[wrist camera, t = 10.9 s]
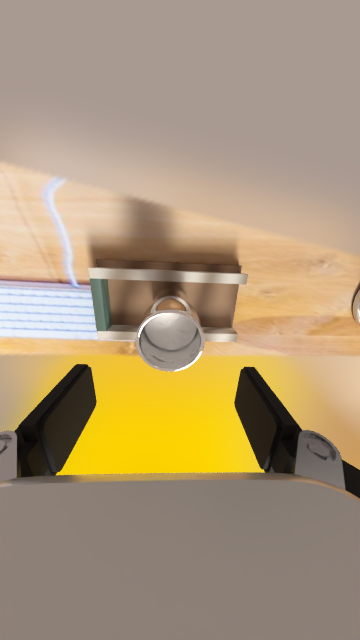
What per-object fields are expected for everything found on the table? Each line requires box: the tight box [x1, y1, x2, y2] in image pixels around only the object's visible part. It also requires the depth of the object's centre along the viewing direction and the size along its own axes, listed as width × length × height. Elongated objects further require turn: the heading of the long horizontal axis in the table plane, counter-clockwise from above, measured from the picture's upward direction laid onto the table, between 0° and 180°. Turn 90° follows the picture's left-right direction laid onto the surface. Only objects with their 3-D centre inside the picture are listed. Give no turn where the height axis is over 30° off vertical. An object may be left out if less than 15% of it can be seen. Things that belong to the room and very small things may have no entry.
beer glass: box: [136, 287, 205, 371], centre depth 23 cm, size 7×7×15 cm
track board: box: [88, 259, 248, 342], centre depth 29 cm, size 24×14×4 cm, turn 88°
